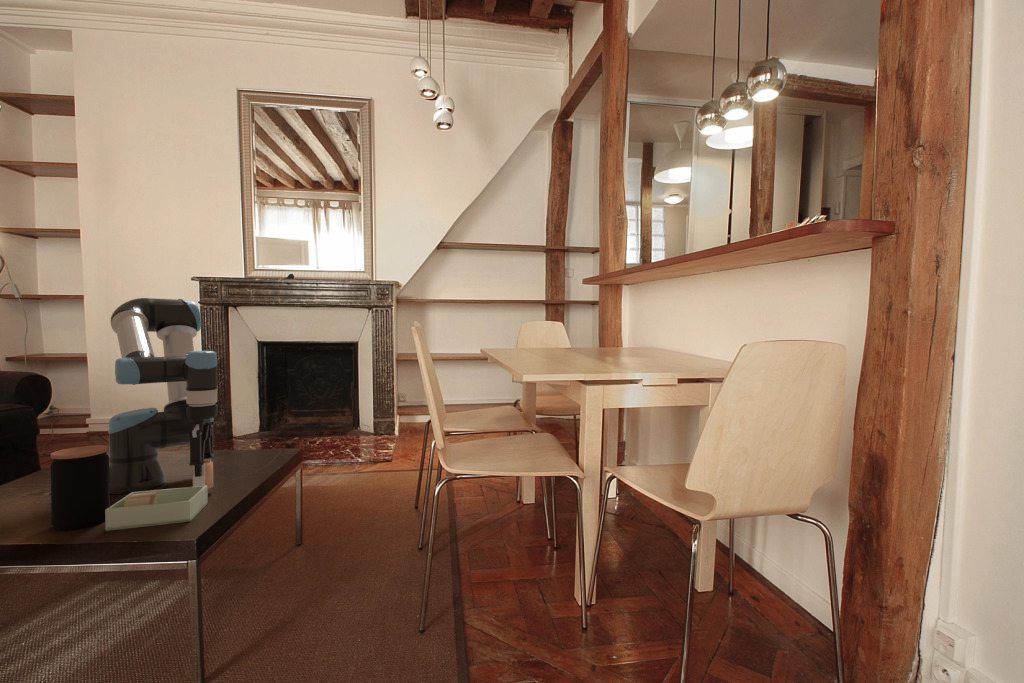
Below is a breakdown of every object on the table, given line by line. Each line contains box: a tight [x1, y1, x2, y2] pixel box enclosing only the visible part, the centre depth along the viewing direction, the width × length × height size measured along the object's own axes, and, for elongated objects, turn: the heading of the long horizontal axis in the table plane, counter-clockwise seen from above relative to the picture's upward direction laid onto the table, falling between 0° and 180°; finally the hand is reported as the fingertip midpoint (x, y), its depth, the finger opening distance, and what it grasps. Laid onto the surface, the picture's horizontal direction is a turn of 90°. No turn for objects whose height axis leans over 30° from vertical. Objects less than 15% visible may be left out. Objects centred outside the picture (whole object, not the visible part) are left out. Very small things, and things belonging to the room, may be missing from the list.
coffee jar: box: [50, 444, 111, 531], centre depth 115 cm, size 11×11×18 cm
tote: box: [104, 486, 209, 532], centre depth 118 cm, size 13×17×5 cm
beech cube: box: [124, 492, 157, 507], centre depth 117 cm, size 5×5×5 cm
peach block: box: [191, 460, 214, 490], centre depth 135 cm, size 5×5×7 cm
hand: (202, 483), depth 135 cm, fingers closed on peach block, 5 cm apart
